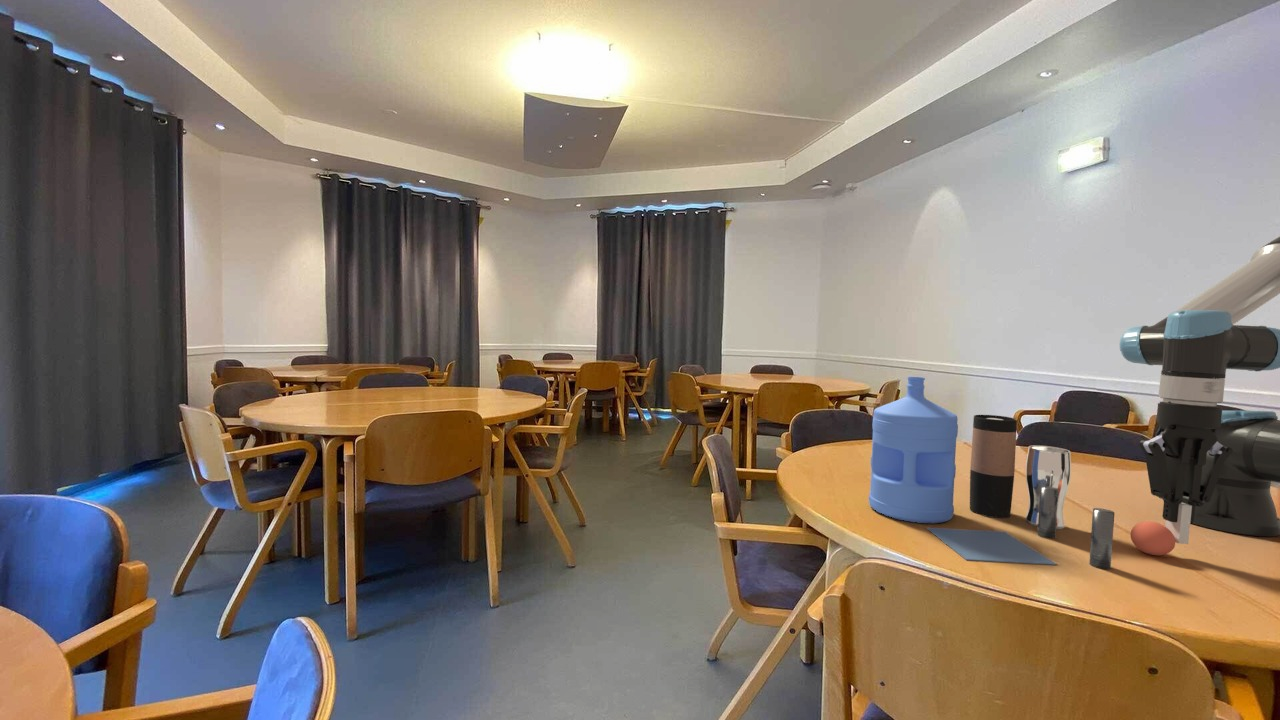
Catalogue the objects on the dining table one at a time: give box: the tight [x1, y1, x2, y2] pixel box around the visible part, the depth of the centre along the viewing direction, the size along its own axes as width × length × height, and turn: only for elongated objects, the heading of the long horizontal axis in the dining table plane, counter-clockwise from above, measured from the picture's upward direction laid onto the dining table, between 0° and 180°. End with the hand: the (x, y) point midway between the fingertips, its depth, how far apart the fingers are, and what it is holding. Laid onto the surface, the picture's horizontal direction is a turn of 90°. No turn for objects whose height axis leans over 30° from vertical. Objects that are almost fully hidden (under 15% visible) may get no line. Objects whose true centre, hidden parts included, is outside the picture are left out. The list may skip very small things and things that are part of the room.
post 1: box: [1037, 486, 1058, 540], centre depth 97 cm, size 3×3×9 cm
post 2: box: [1089, 507, 1115, 570], centre depth 85 cm, size 3×3×9 cm
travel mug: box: [969, 414, 1018, 519], centre depth 110 cm, size 8×8×20 cm
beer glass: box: [1025, 444, 1072, 531], centre depth 104 cm, size 7×7×15 cm
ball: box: [1129, 521, 1176, 556], centre depth 90 cm, size 6×6×6 cm
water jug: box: [868, 376, 959, 524], centre depth 109 cm, size 16×16×28 cm
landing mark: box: [926, 527, 1058, 566], centre depth 93 cm, size 14×14×1 cm
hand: (1175, 540), depth 90 cm, fingers closed
